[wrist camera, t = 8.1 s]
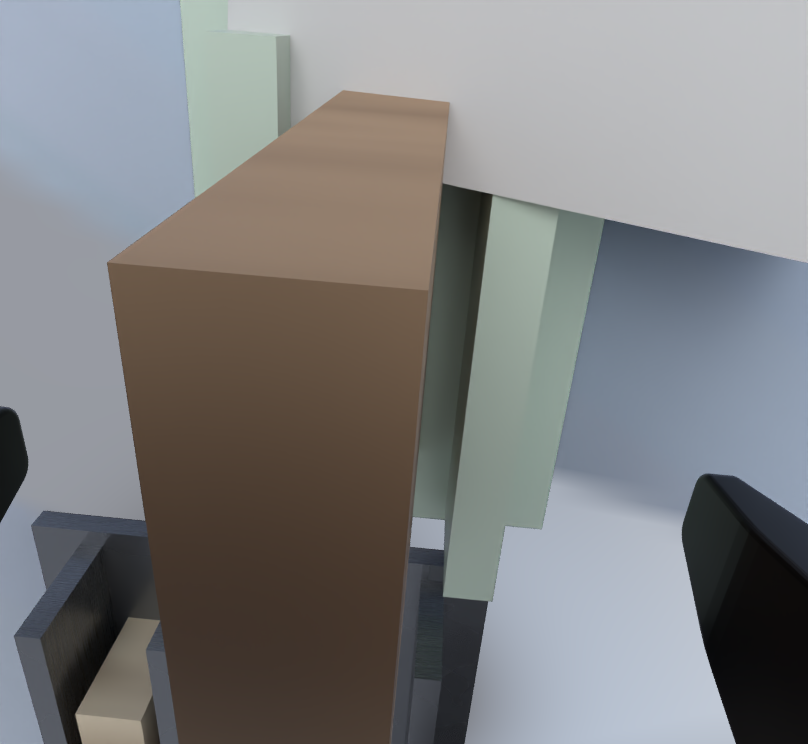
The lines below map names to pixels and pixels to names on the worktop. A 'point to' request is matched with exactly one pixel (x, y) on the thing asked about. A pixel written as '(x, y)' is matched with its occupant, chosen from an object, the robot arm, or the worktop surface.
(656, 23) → the decorative molding
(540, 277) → the sage stand
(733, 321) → the worktop surface
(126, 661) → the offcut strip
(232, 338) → the walnut sheet
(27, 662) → the offcut rack
